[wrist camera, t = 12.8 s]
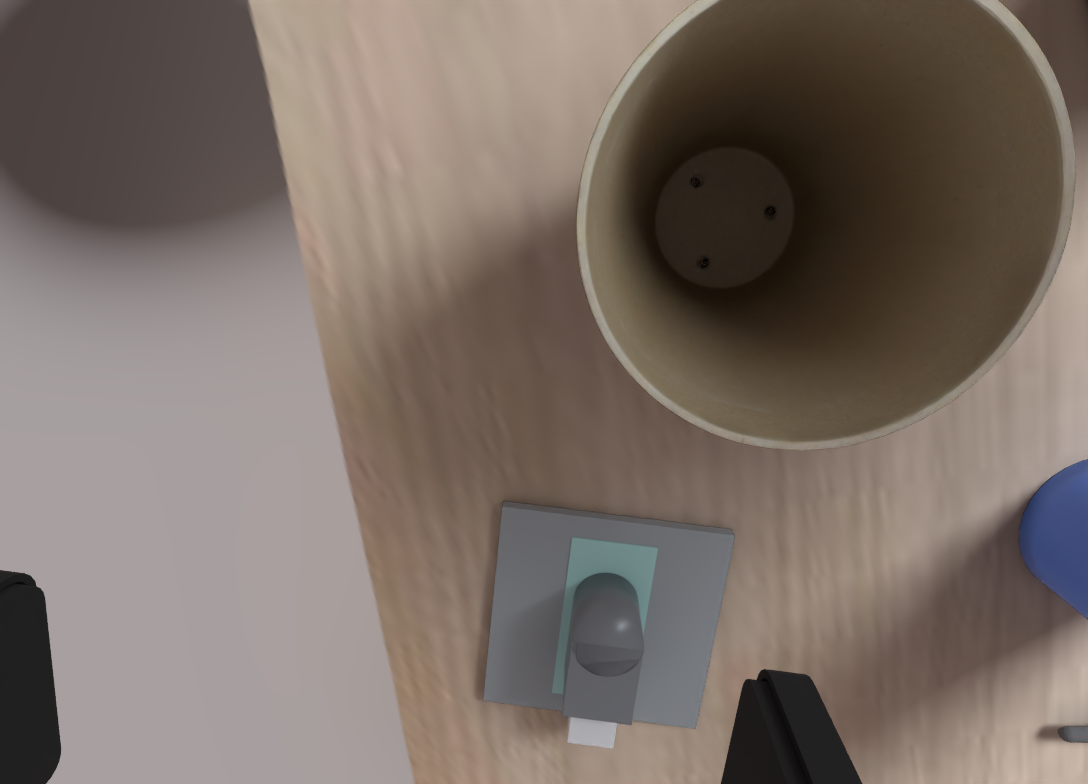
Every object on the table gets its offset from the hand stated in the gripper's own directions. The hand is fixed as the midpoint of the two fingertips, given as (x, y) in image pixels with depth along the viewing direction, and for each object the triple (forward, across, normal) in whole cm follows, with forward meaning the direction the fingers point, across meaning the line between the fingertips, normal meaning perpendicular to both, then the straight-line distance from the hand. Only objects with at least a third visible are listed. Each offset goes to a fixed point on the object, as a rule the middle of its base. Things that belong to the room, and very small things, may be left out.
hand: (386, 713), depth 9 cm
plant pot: (+31, -9, -7) cm, 33 cm away
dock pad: (+30, -6, +18) cm, 36 cm away
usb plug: (+29, -6, +19) cm, 35 cm away
